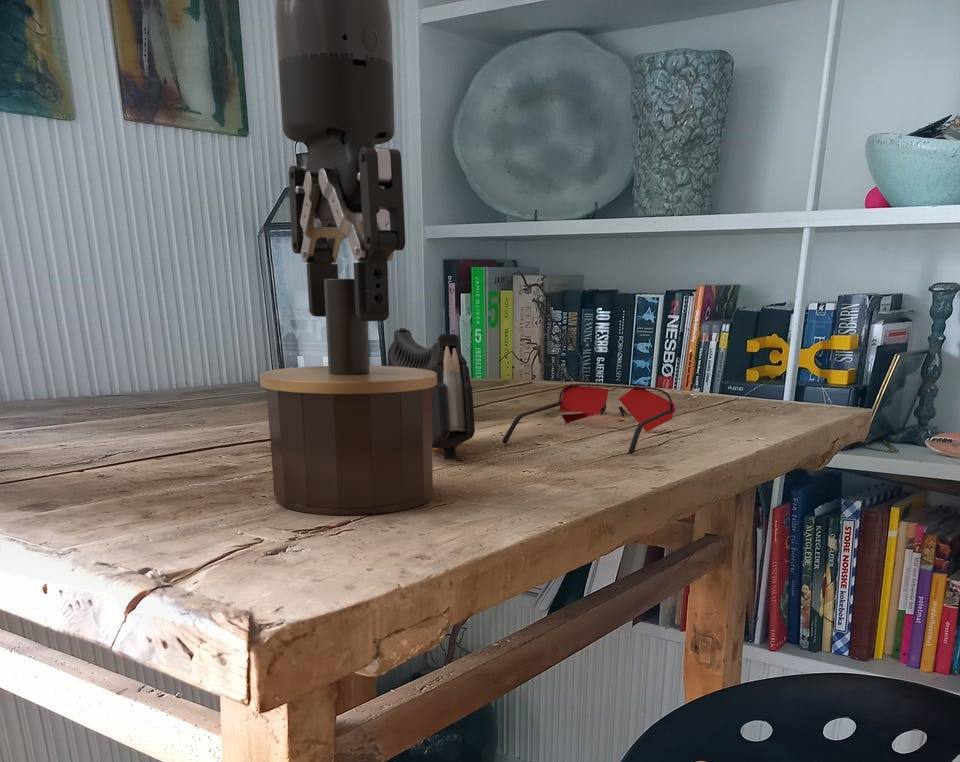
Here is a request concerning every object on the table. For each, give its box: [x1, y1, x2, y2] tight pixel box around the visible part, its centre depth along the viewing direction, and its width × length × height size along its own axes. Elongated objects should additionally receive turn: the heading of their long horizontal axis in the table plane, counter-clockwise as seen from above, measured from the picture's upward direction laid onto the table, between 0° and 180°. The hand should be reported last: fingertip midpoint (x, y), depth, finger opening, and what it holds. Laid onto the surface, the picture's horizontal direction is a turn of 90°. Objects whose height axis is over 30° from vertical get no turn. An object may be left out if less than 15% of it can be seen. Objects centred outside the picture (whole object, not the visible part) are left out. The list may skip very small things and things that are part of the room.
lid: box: [259, 278, 437, 394], centre depth 68 cm, size 13×13×8 cm
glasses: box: [501, 383, 677, 455], centre depth 99 cm, size 14×16×5 cm
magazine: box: [387, 327, 476, 460], centre depth 97 cm, size 17×3×30 cm
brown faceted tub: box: [266, 387, 434, 516], centre depth 71 cm, size 12×12×8 cm
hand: (347, 318), depth 68 cm, fingers open, 8 cm apart
